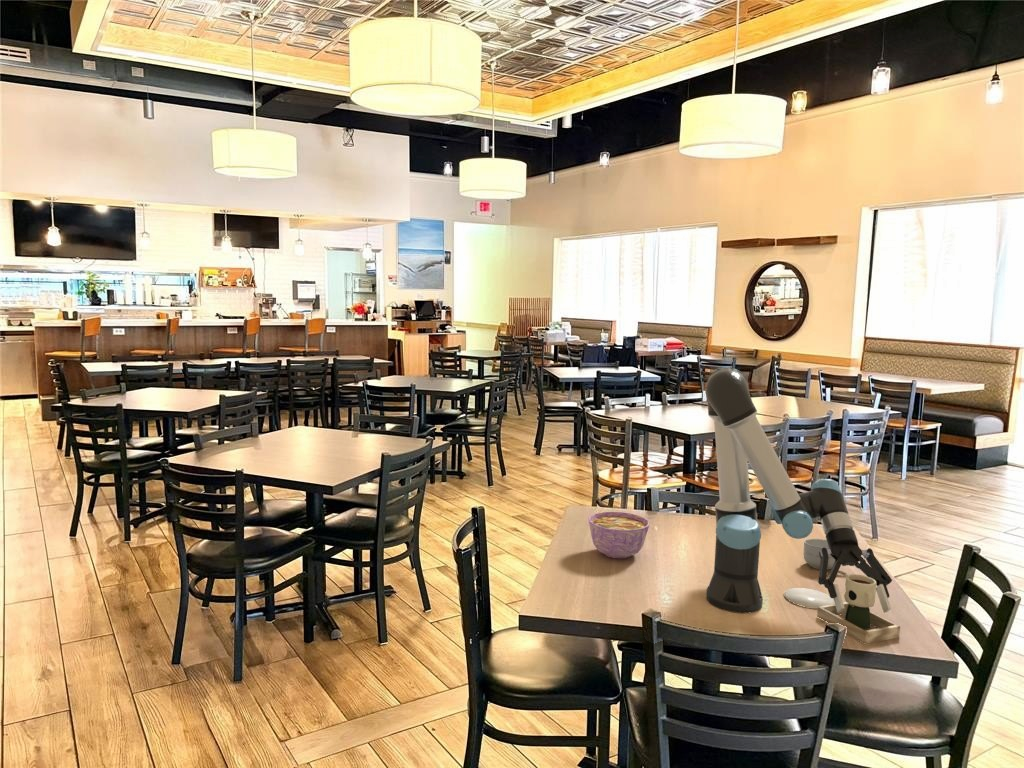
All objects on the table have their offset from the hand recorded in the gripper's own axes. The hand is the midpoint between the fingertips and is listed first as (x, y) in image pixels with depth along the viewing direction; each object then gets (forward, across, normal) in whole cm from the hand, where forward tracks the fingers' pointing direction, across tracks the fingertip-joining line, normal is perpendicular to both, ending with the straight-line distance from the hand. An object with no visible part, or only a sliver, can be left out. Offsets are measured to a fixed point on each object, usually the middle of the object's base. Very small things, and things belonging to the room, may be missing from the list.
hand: (864, 610), depth 181 cm
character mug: (+2, 0, -6) cm, 7 cm away
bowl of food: (-34, +54, -42) cm, 76 cm away
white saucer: (-10, +5, -18) cm, 21 cm away
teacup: (-27, -12, -36) cm, 47 cm away
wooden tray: (+2, 0, -6) cm, 6 cm away
